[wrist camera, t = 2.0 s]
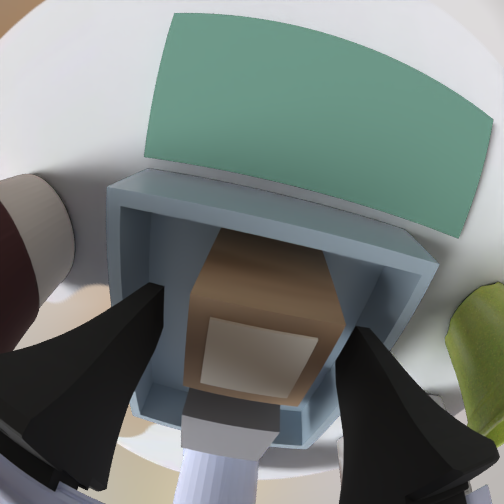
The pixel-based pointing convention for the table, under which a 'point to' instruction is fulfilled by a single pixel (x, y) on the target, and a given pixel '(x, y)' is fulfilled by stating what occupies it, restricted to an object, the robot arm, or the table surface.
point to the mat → (316, 117)
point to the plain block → (228, 425)
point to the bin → (267, 225)
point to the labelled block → (260, 319)
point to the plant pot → (480, 359)
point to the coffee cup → (30, 252)
